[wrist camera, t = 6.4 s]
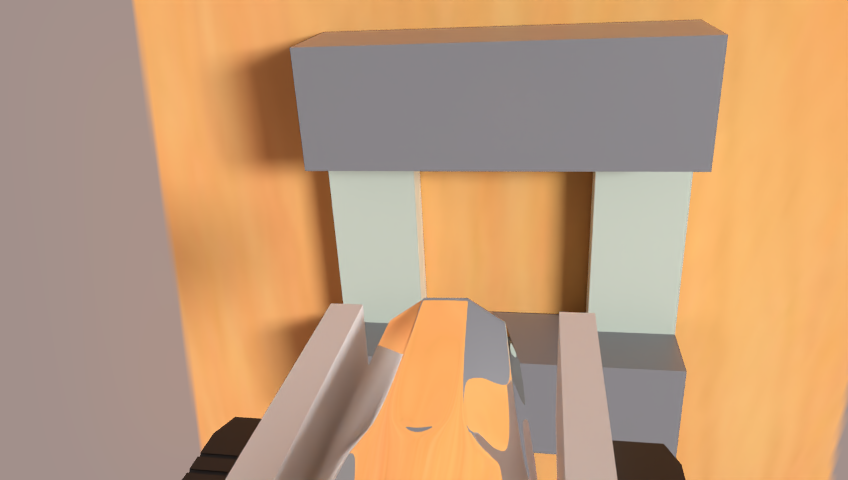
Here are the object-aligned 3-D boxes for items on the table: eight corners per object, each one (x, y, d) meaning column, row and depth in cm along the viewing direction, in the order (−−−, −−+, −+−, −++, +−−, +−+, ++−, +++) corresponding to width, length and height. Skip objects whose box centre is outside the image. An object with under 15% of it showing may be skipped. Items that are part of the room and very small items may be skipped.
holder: (323, 32, 31) (289, 47, 27) (701, 19, 28) (728, 34, 24) (360, 385, 38) (339, 439, 34) (660, 402, 36) (675, 462, 32)
